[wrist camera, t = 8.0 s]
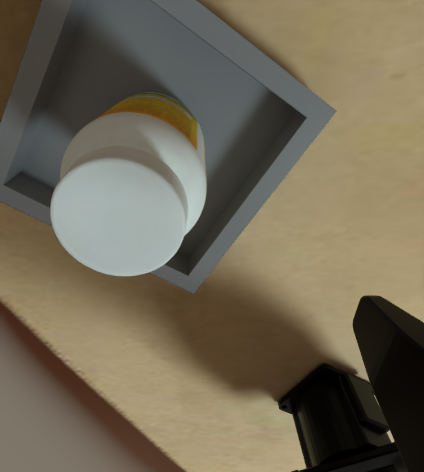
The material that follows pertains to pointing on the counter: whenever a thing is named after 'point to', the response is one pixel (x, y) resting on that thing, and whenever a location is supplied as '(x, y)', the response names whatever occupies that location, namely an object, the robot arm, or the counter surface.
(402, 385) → the robot arm
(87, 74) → the tray
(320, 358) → the counter surface
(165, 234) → the supplement bottle
